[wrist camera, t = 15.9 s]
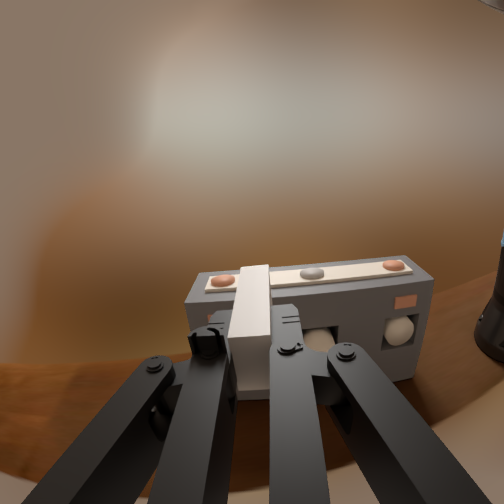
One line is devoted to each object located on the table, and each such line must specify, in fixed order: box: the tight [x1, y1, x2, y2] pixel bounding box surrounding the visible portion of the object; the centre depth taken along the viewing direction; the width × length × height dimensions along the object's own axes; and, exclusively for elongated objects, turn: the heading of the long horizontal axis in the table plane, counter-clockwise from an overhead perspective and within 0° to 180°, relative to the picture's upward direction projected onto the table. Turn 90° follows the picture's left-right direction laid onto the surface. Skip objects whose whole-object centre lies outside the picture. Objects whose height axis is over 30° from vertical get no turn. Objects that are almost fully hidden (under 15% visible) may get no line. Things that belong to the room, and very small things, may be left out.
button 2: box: [383, 316, 414, 346], centre depth 36 cm, size 4×6×4 cm
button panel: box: [184, 255, 434, 400], centre depth 38 cm, size 30×9×17 cm, turn 88°
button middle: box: [302, 327, 335, 352], centre depth 34 cm, size 4×6×4 cm
